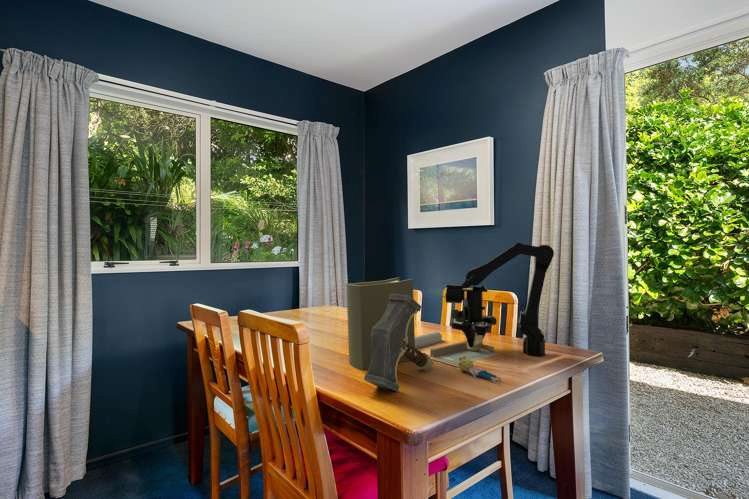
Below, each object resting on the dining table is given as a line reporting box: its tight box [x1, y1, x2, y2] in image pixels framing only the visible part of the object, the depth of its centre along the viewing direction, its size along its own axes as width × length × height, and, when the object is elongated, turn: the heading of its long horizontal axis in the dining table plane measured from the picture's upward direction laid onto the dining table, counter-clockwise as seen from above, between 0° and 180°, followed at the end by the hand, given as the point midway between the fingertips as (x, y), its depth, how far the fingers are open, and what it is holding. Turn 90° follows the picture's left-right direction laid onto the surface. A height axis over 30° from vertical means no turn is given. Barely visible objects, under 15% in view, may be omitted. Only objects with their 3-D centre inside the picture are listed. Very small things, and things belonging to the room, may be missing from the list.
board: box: [428, 340, 499, 369], centre depth 146 cm, size 14×22×3 cm, turn 127°
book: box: [346, 276, 416, 371], centre depth 141 cm, size 22×9×28 cm, turn 121°
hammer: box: [363, 294, 434, 393], centre depth 122 cm, size 27×9×30 cm
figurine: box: [458, 356, 502, 384], centre depth 126 cm, size 6×4×15 cm
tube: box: [415, 331, 443, 349], centre depth 161 cm, size 5×5×25 cm
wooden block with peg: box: [466, 334, 495, 353], centre depth 150 cm, size 10×4×5 cm, turn 37°
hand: (474, 346), depth 152 cm, fingers closed on wooden block with peg, 4 cm apart
